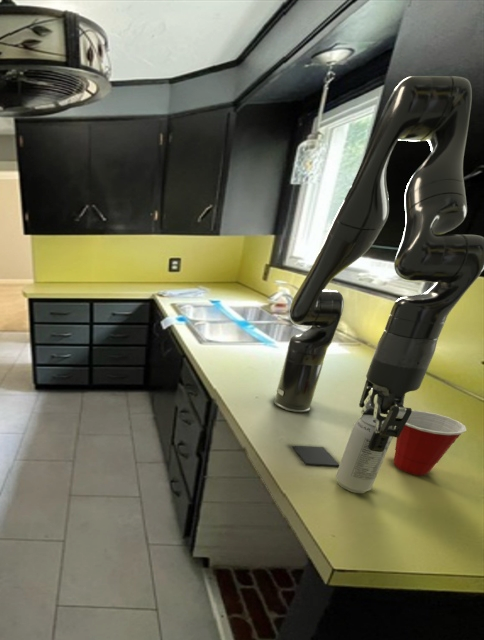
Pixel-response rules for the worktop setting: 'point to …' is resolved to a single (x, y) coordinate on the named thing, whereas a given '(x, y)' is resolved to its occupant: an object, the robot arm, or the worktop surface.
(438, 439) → the plastic cup
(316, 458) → the coaster
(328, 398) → the worktop surface
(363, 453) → the energy drink can
